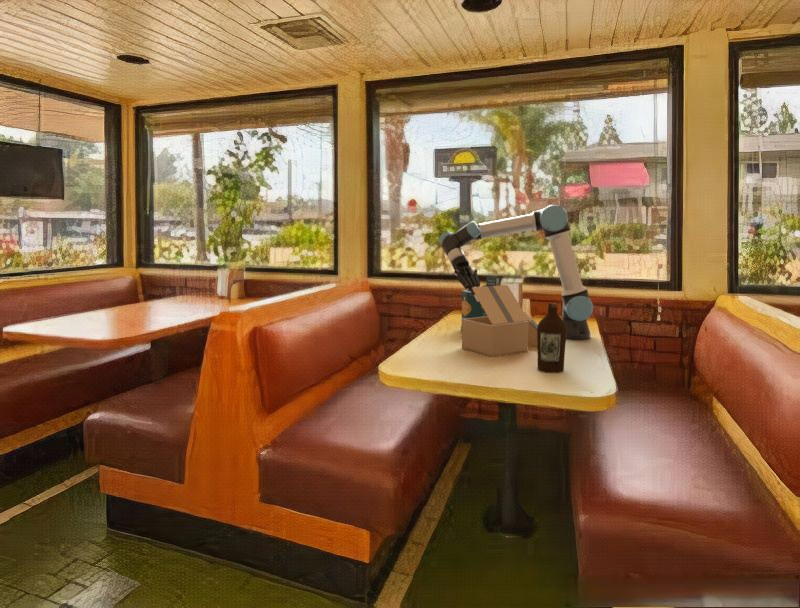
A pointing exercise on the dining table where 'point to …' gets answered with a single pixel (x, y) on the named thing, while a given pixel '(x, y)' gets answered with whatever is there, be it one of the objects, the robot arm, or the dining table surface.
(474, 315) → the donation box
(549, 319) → the olive oil
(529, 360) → the dining table surface
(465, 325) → the carton
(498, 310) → the lid flap
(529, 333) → the sandwich container
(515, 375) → the dining table surface
